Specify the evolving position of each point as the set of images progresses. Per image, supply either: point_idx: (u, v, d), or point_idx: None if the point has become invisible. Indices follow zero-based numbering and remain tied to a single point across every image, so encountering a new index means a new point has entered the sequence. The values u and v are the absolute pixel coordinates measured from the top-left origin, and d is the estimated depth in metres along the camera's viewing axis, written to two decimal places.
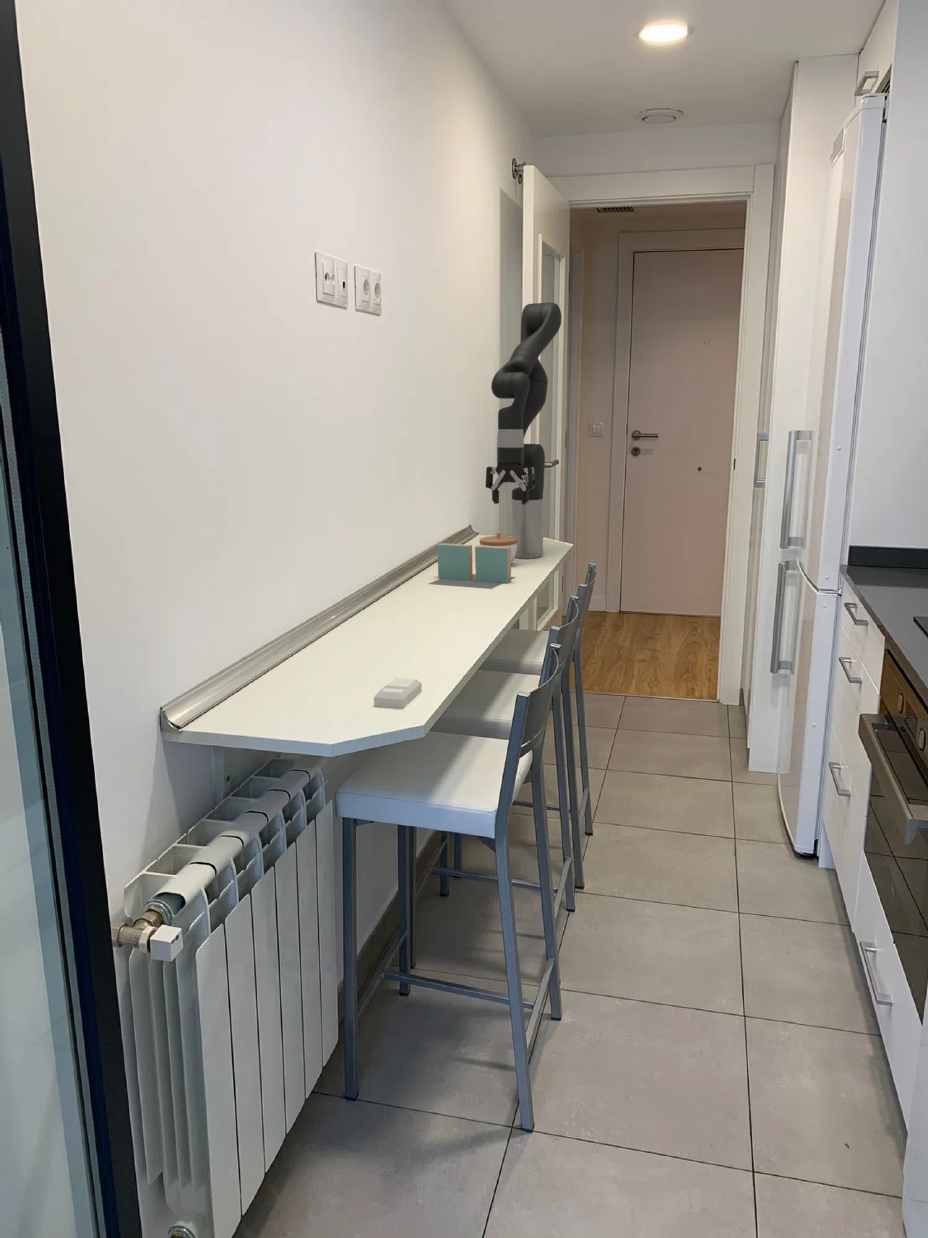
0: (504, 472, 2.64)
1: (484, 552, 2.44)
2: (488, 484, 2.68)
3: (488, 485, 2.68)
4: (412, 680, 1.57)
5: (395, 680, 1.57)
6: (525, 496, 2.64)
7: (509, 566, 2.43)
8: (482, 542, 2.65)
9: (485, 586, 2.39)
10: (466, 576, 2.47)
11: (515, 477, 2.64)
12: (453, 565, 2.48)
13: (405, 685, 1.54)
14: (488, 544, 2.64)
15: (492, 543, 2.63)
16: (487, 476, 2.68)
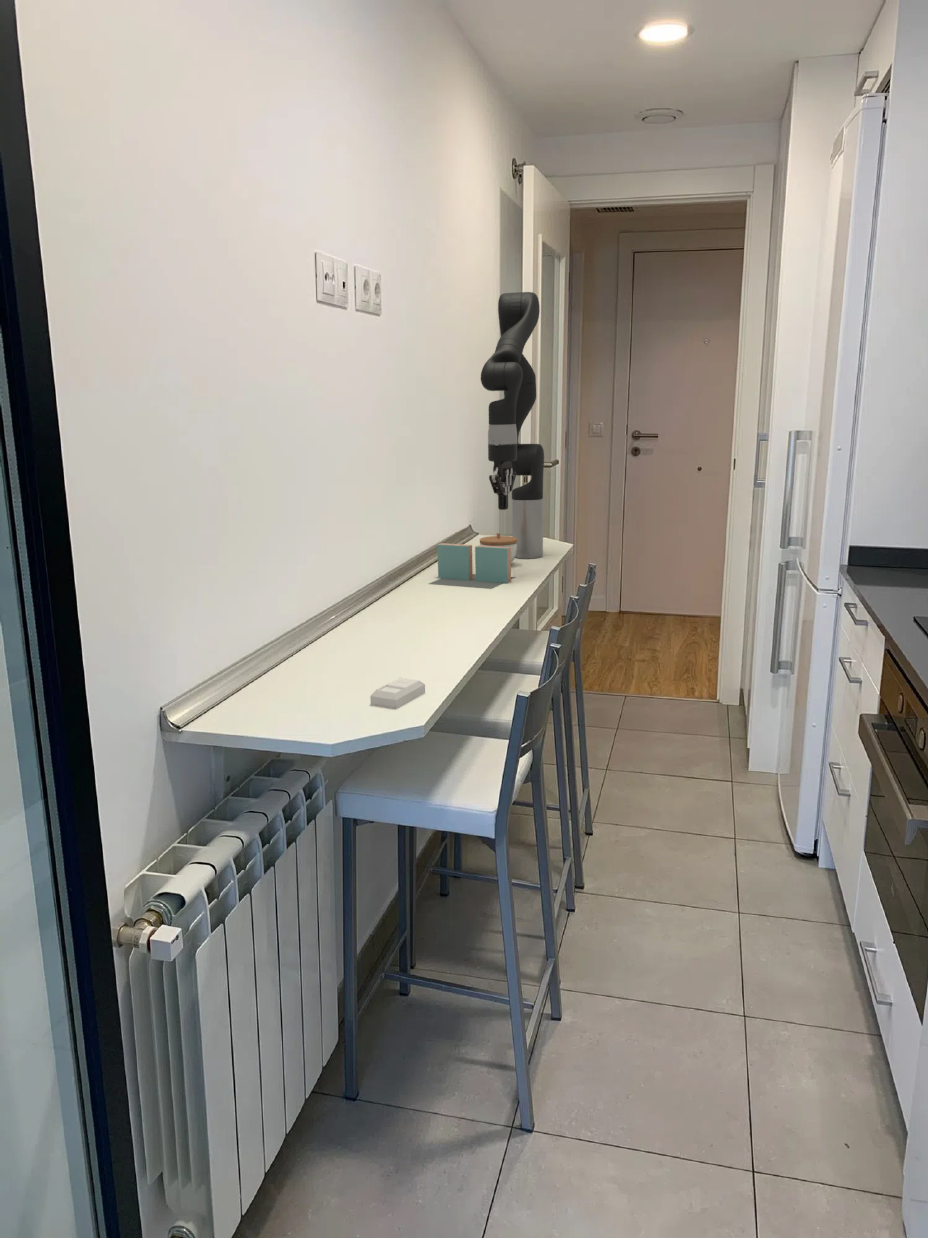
0: (508, 470, 2.44)
1: (484, 552, 2.44)
2: (503, 489, 2.44)
3: (503, 490, 2.44)
4: (414, 681, 1.56)
5: (398, 680, 1.57)
6: None
7: (509, 566, 2.43)
8: (482, 542, 2.65)
9: (485, 586, 2.39)
10: (466, 576, 2.47)
11: (509, 477, 2.46)
12: (453, 565, 2.48)
13: (404, 685, 1.54)
14: (488, 544, 2.64)
15: (492, 543, 2.63)
16: (500, 484, 2.42)
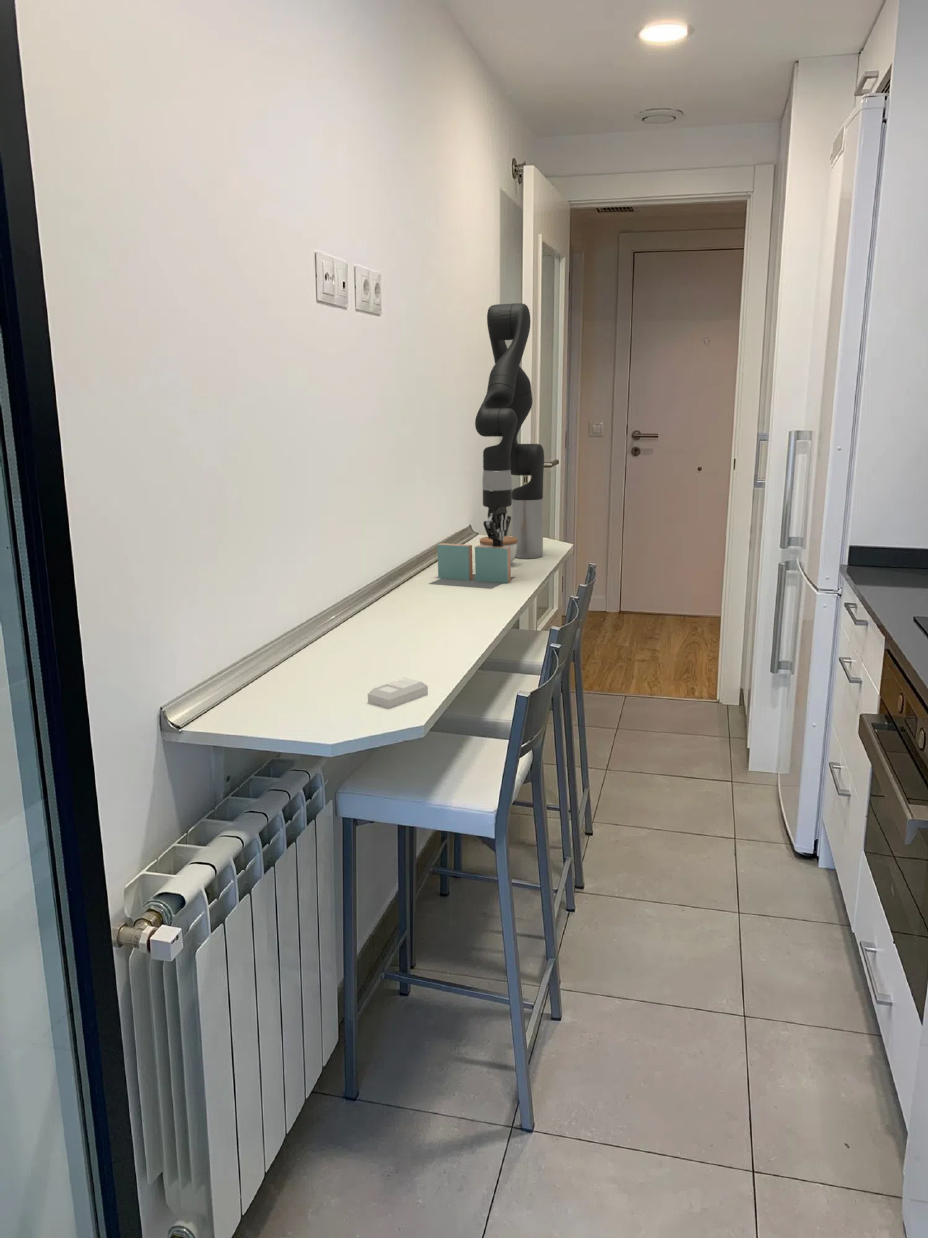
0: (502, 515, 2.43)
1: (484, 552, 2.43)
2: (498, 535, 2.43)
3: (498, 536, 2.43)
4: (416, 682, 1.56)
5: (401, 680, 1.57)
6: None
7: (509, 566, 2.43)
8: (482, 542, 2.65)
9: (485, 586, 2.39)
10: (466, 576, 2.47)
11: (504, 522, 2.45)
12: (453, 565, 2.48)
13: (403, 686, 1.54)
14: (488, 544, 2.64)
15: (492, 543, 2.63)
16: (495, 530, 2.41)
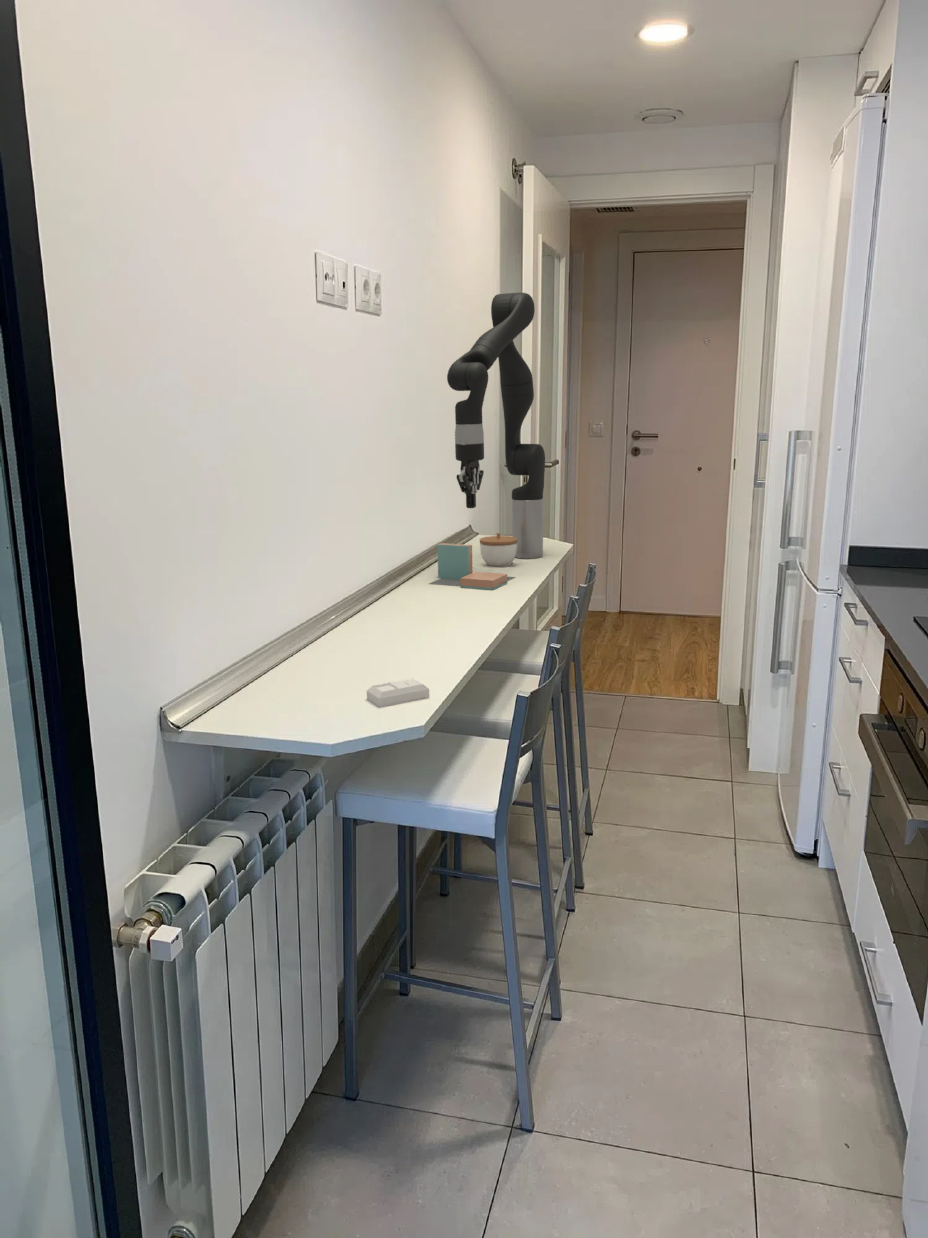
0: (475, 469, 2.47)
1: None
2: (471, 488, 2.47)
3: None
4: (417, 684, 1.55)
5: (406, 680, 1.57)
6: None
7: (500, 580, 2.39)
8: (482, 542, 2.65)
9: None
10: None
11: (477, 476, 2.49)
12: (453, 565, 2.48)
13: (401, 686, 1.53)
14: (488, 544, 2.64)
15: (492, 543, 2.63)
16: (468, 483, 2.45)
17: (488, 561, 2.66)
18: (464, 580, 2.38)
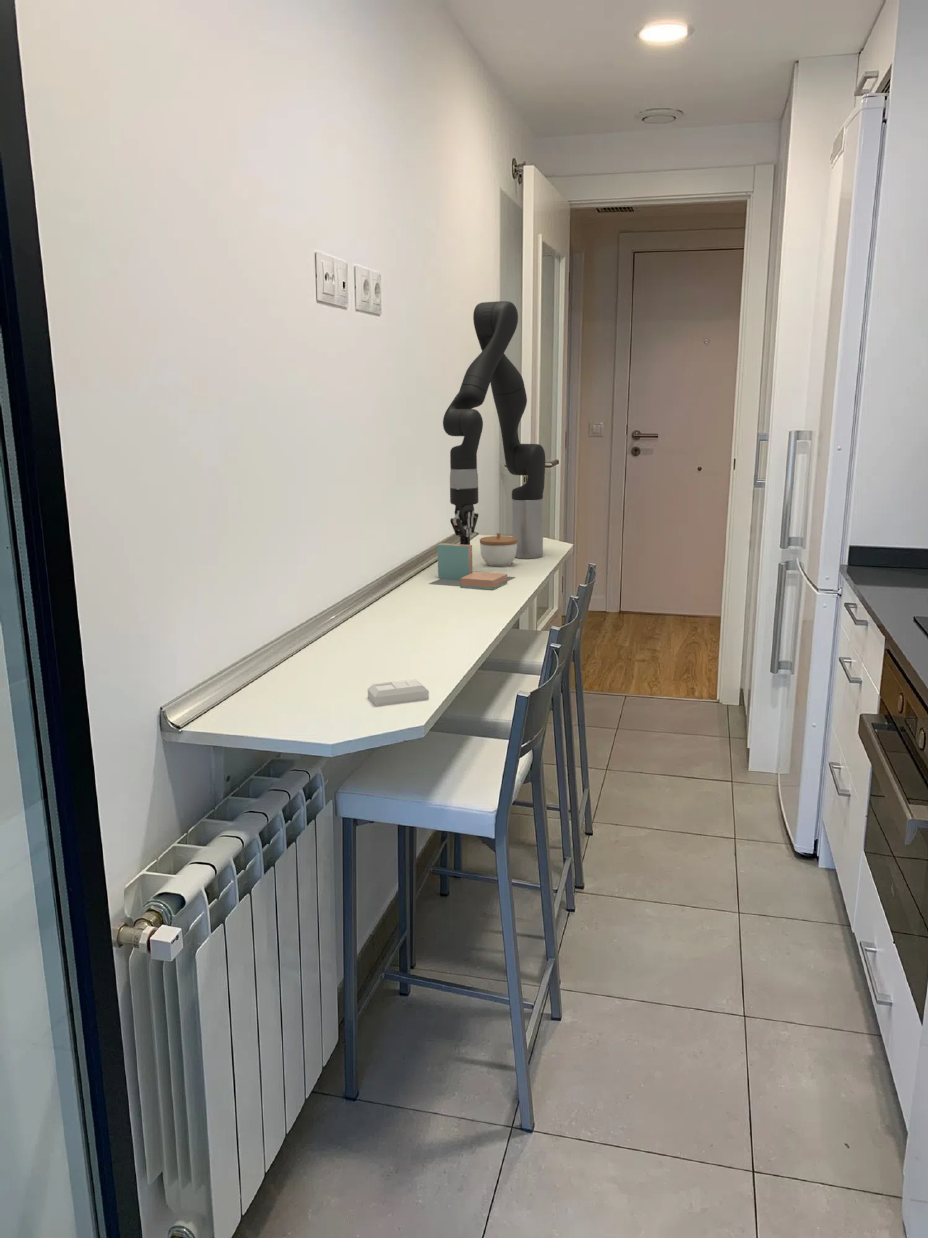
0: (469, 513, 2.50)
1: None
2: (465, 531, 2.51)
3: (465, 532, 2.51)
4: (417, 685, 1.54)
5: (409, 680, 1.56)
6: None
7: (500, 580, 2.39)
8: (482, 542, 2.65)
9: None
10: None
11: (471, 519, 2.53)
12: (453, 565, 2.48)
13: (400, 686, 1.53)
14: (488, 544, 2.64)
15: (492, 543, 2.63)
16: (461, 527, 2.48)
17: (488, 561, 2.66)
18: (464, 580, 2.38)
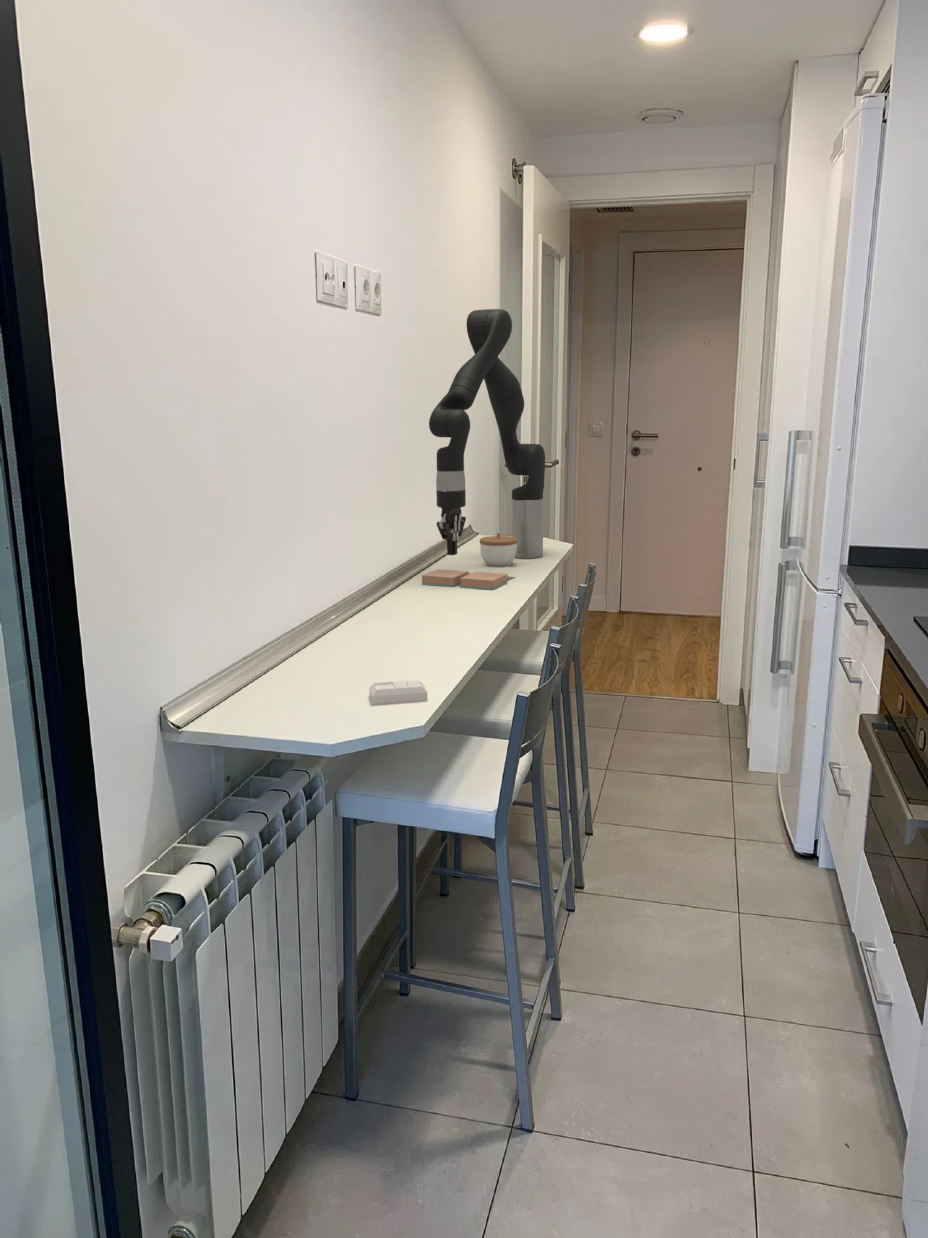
0: (456, 516, 2.43)
1: None
2: (452, 535, 2.44)
3: (452, 536, 2.44)
4: (416, 686, 1.54)
5: (410, 681, 1.56)
6: None
7: (500, 580, 2.39)
8: (482, 542, 2.65)
9: None
10: None
11: (458, 523, 2.46)
12: None
13: (399, 687, 1.53)
14: (488, 544, 2.64)
15: (492, 543, 2.63)
16: (448, 530, 2.42)
17: (488, 561, 2.66)
18: (464, 580, 2.38)
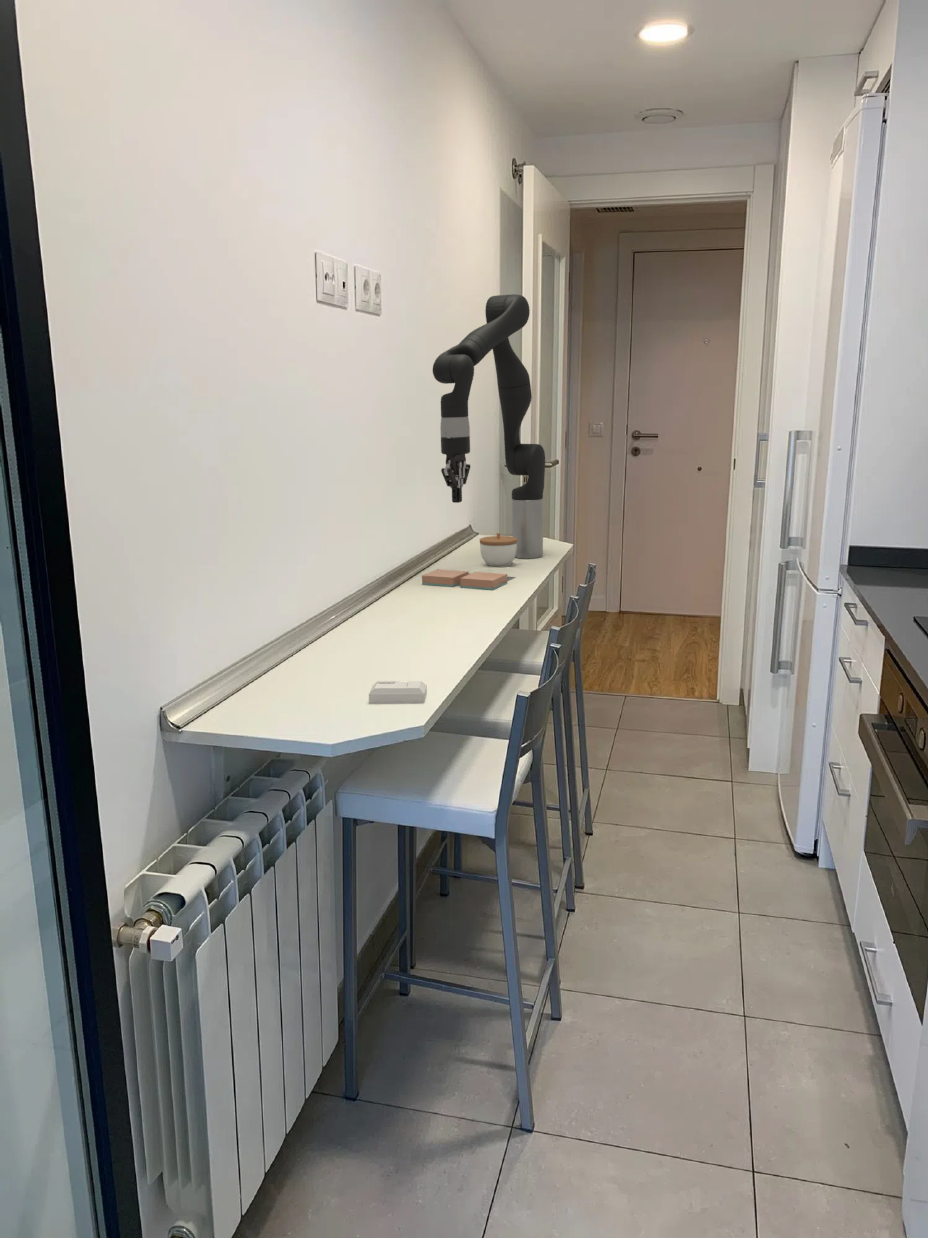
0: (460, 463, 2.43)
1: None
2: (456, 482, 2.44)
3: (456, 483, 2.44)
4: (415, 687, 1.53)
5: (412, 682, 1.56)
6: None
7: (500, 580, 2.39)
8: (482, 542, 2.65)
9: None
10: None
11: (463, 470, 2.46)
12: None
13: (397, 687, 1.53)
14: (488, 544, 2.64)
15: (492, 543, 2.63)
16: (453, 477, 2.41)
17: (488, 561, 2.66)
18: (464, 580, 2.38)
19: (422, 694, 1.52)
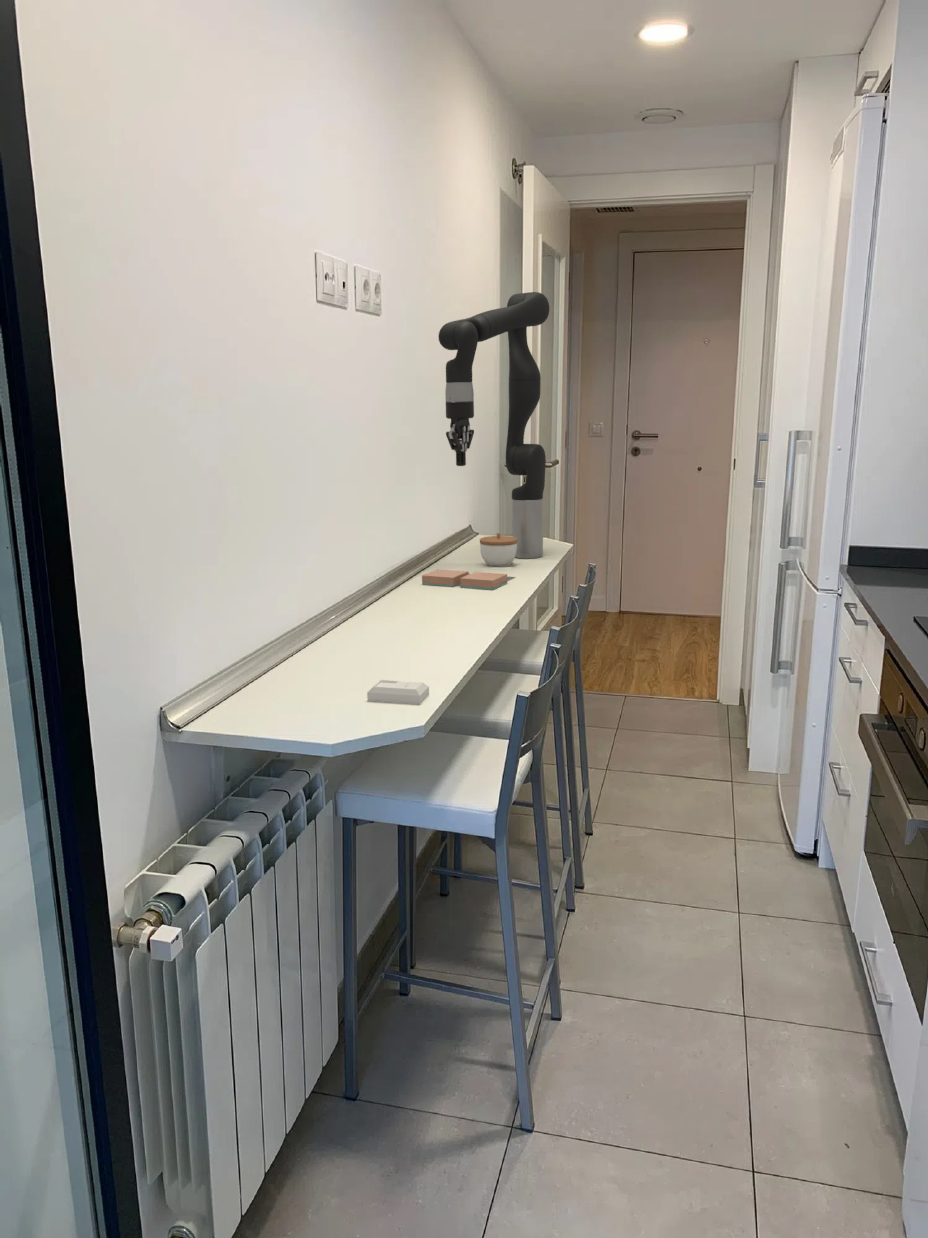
0: (464, 427, 2.51)
1: None
2: (460, 445, 2.52)
3: (460, 447, 2.52)
4: (412, 688, 1.52)
5: (413, 683, 1.55)
6: None
7: (500, 580, 2.39)
8: (482, 542, 2.65)
9: None
10: None
11: (467, 434, 2.54)
12: None
13: (395, 686, 1.53)
14: (488, 544, 2.64)
15: (492, 543, 2.63)
16: (457, 440, 2.50)
17: (488, 561, 2.66)
18: (464, 580, 2.38)
19: (418, 696, 1.51)
